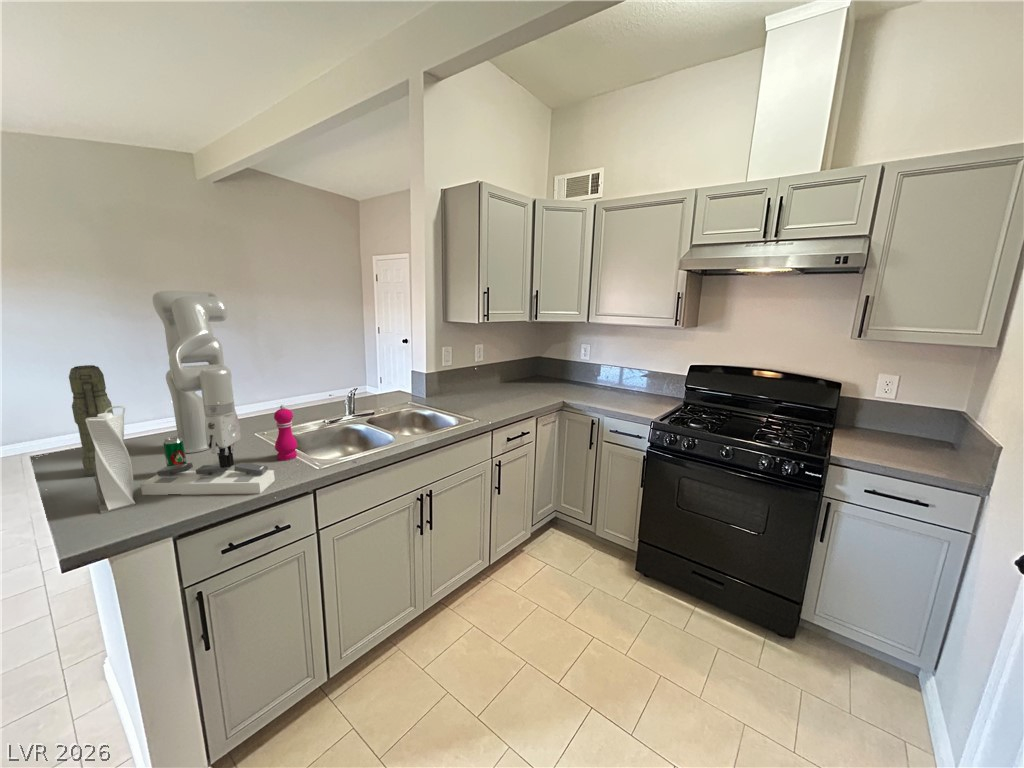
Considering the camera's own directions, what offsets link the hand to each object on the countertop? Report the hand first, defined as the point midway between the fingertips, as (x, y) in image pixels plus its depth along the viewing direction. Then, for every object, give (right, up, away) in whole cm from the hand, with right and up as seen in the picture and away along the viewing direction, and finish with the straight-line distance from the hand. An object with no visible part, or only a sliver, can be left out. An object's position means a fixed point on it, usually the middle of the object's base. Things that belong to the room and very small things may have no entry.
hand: (227, 465), depth 126 cm
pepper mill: (+6, -2, +24) cm, 24 cm away
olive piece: (-46, -3, +8) cm, 47 cm away
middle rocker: (-4, -2, 0) cm, 5 cm away
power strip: (-4, -6, -1) cm, 8 cm away
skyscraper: (-21, -9, -12) cm, 26 cm away
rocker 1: (-15, -1, -1) cm, 15 cm away
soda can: (-22, -4, +8) cm, 24 cm away
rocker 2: (+7, -2, +1) cm, 7 cm away
